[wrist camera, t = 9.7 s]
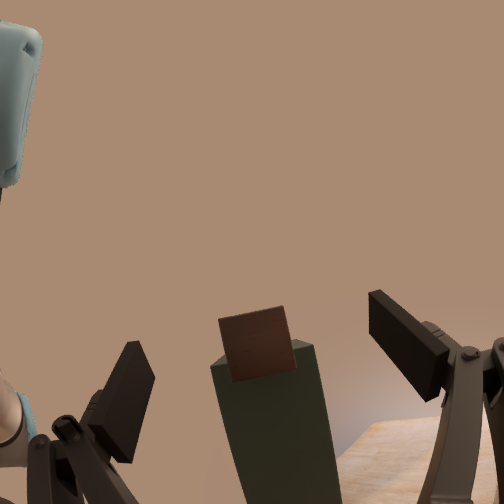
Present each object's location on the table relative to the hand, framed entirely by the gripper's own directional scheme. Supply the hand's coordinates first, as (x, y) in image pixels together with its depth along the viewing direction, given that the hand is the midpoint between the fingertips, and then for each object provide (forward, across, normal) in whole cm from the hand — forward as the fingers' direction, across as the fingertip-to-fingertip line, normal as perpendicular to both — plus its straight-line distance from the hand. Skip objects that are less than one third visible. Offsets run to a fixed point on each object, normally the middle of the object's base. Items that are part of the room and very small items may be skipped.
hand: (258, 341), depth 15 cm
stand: (-5, 0, -30) cm, 31 cm away
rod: (+6, 0, -5) cm, 8 cm away
